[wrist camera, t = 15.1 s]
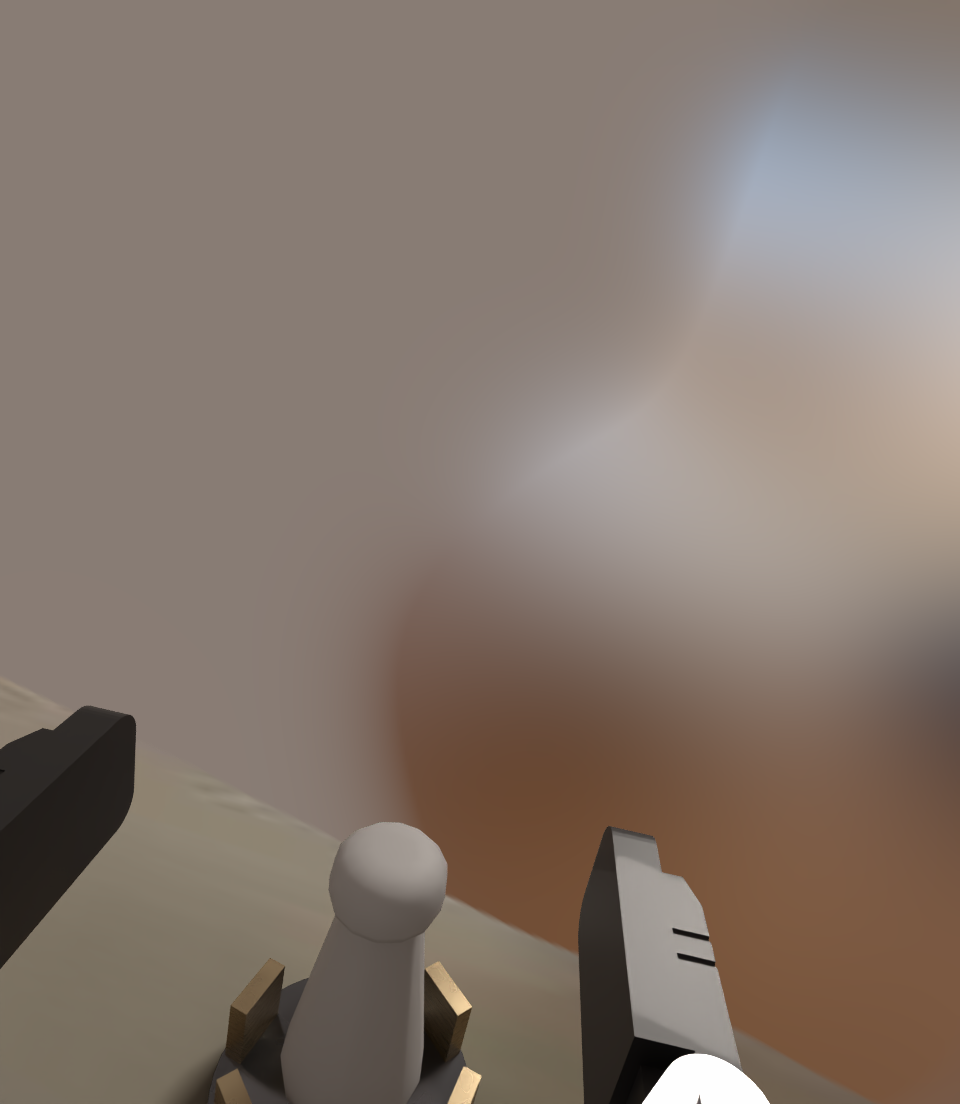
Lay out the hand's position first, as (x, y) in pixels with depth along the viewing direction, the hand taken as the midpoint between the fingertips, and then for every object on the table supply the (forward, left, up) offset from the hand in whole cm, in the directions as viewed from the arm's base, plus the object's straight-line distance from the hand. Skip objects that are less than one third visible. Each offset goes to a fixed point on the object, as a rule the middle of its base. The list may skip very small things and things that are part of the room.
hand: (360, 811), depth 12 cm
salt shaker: (-3, -10, -24) cm, 26 cm away
